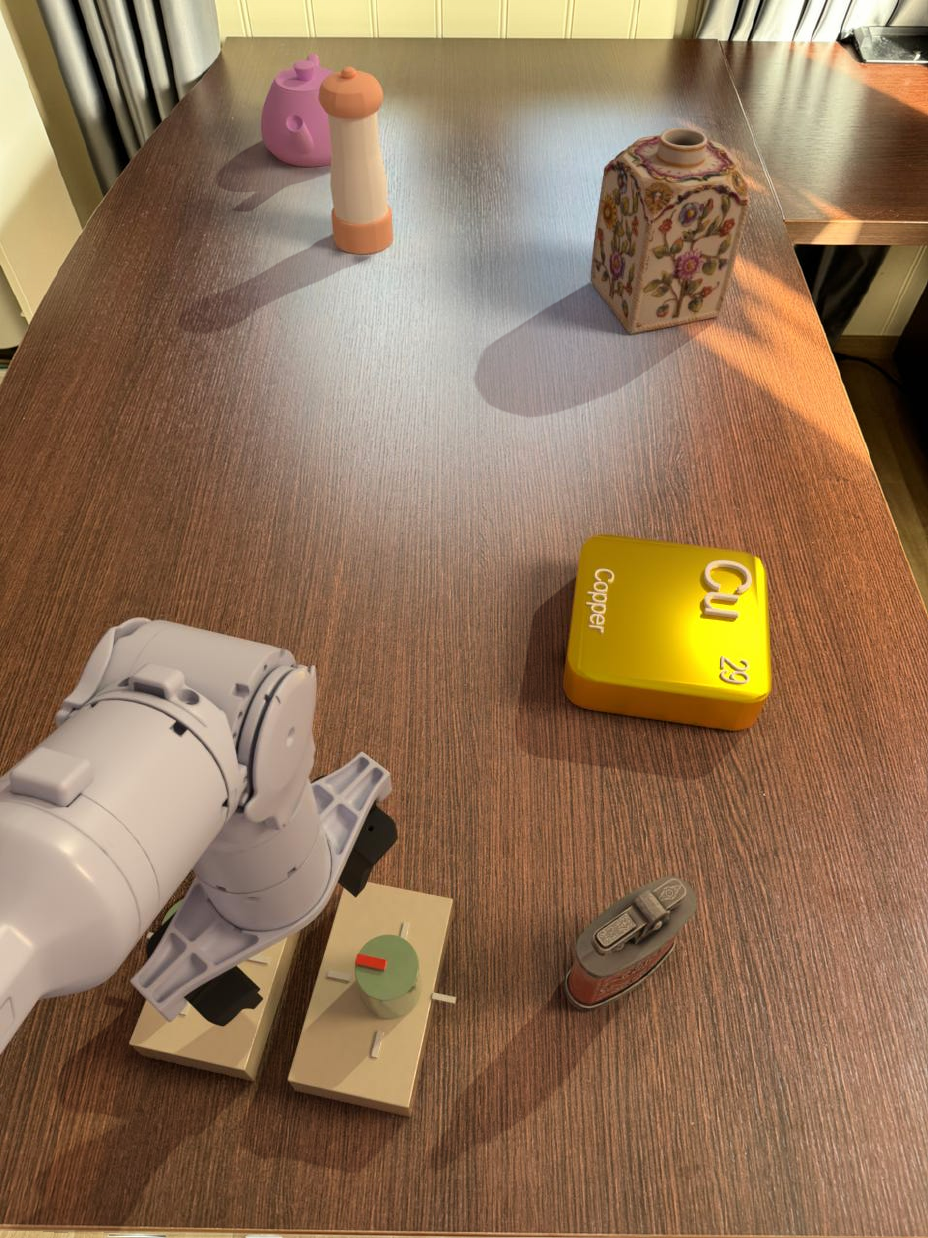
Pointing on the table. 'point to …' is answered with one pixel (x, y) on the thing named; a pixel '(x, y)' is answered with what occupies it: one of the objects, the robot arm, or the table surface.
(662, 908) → the lighter
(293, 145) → the teapot
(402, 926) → the dial knob base
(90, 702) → the robot arm
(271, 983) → the tan base plate
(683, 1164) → the table surface
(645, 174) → the decorative jar
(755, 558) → the element tile
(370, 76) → the pepper shaker
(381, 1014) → the knob
